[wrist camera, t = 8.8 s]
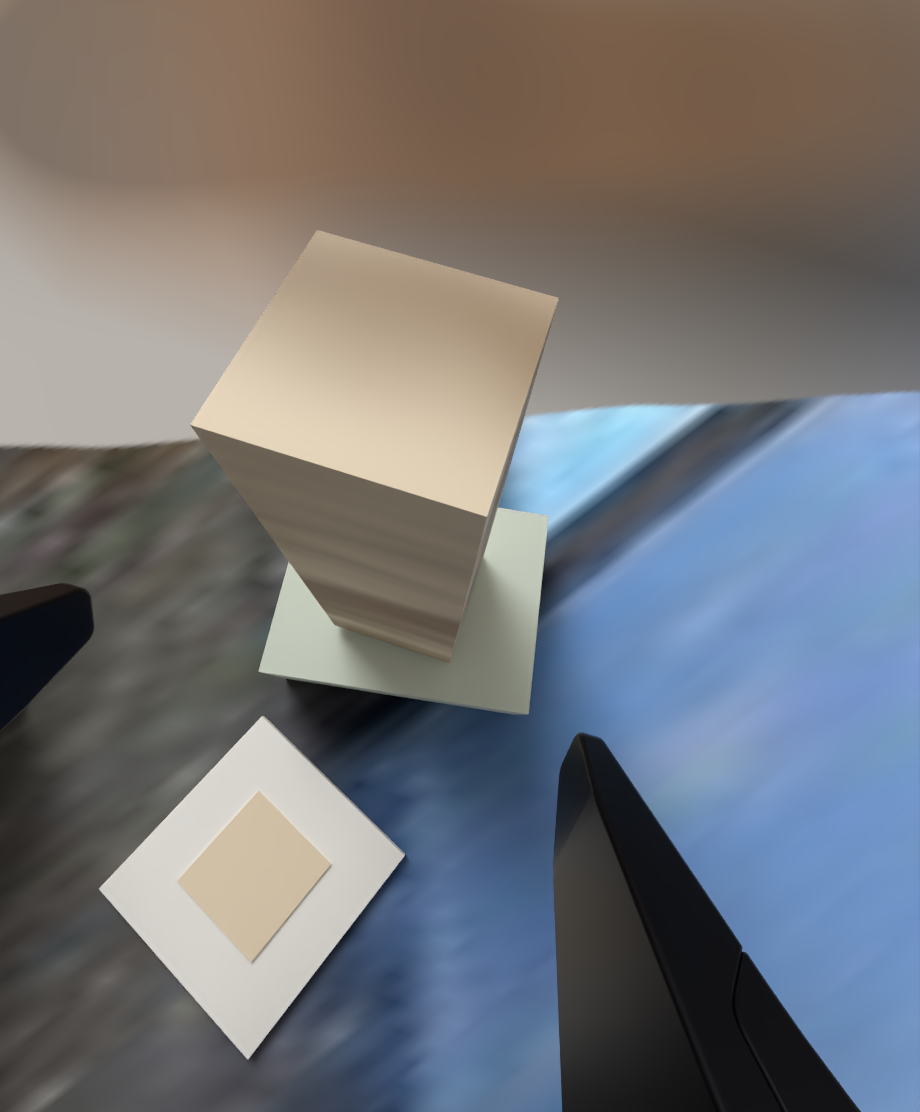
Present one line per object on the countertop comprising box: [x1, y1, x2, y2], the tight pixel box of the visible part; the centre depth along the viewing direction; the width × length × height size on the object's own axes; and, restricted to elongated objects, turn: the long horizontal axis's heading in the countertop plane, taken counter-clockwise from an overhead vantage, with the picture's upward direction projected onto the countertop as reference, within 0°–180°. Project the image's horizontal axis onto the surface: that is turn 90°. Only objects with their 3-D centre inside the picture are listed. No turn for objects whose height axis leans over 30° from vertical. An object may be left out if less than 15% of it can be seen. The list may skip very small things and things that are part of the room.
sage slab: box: [259, 508, 548, 715], centre depth 21 cm, size 10×8×4 cm
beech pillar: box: [190, 230, 559, 663], centre depth 13 cm, size 4×4×12 cm
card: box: [99, 716, 405, 1059], centre depth 19 cm, size 8×8×1 cm
